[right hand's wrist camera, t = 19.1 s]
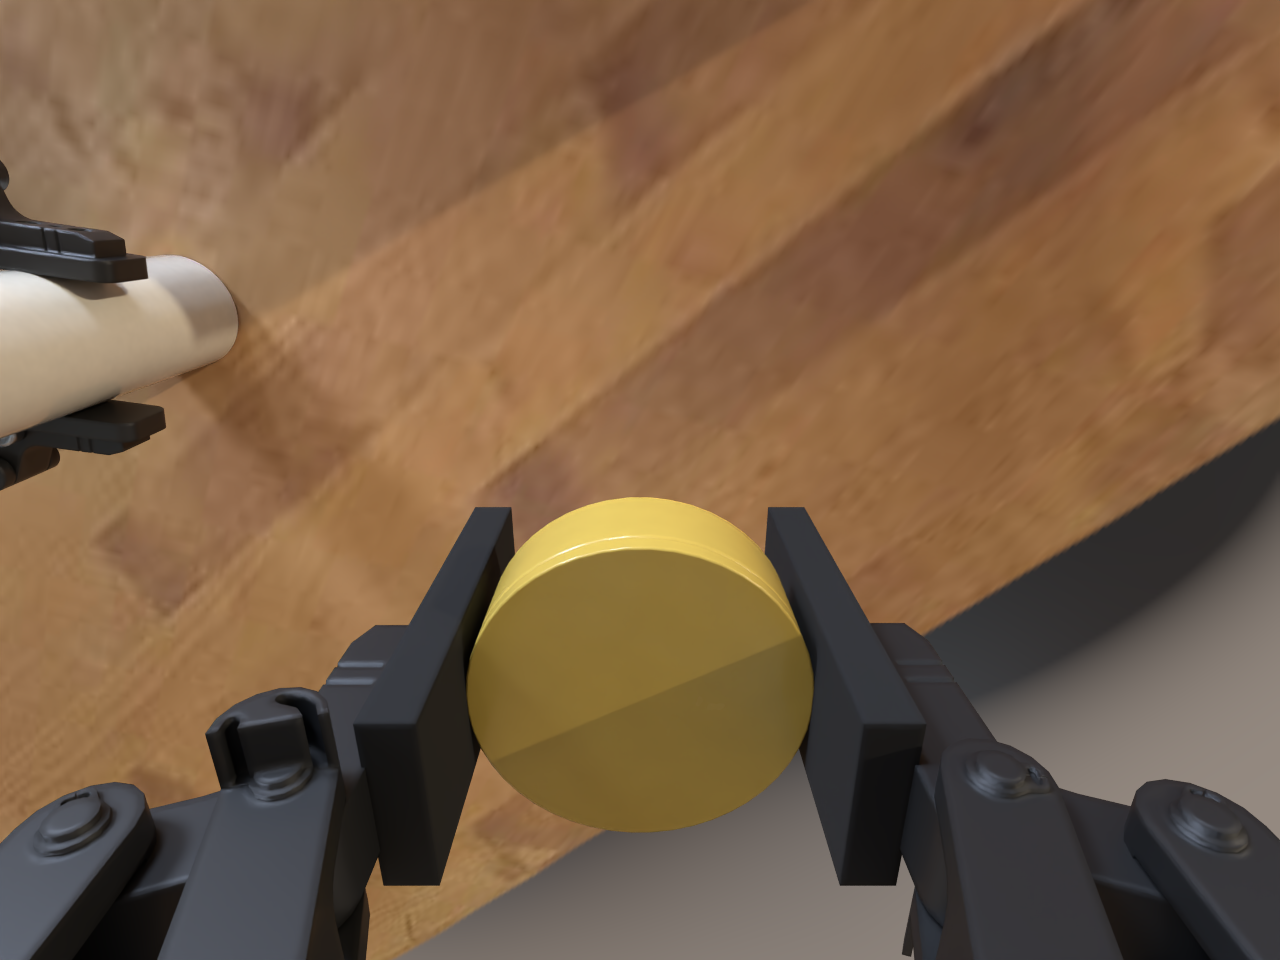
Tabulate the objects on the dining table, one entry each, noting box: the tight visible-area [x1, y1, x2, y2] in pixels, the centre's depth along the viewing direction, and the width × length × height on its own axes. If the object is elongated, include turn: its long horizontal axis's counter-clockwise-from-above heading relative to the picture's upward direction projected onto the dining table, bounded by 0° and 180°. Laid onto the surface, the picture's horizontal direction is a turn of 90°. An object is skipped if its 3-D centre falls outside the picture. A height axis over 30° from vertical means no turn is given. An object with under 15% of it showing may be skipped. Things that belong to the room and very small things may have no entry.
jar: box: [0, 255, 238, 439], centre depth 22 cm, size 5×5×15 cm
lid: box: [466, 497, 814, 832], centre depth 11 cm, size 5×5×2 cm
